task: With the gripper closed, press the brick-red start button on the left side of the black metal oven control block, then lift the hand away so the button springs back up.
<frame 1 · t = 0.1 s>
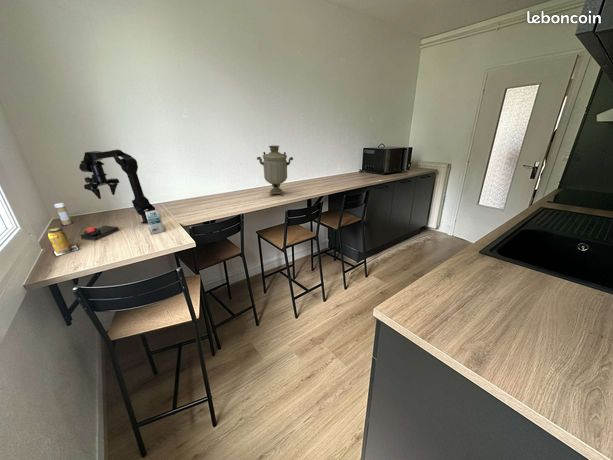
hand: (106, 196, 161), 15 cm above the worktop, tool pointing down, fingers open, 9 cm apart
start button: (91, 229, 138), point 5 cm above the worktop, slide at 0.1 cm
samovar: (278, 193, 221), on the worktop
condiment: (66, 251, 126), on the worktop
sprinkles bottle: (67, 224, 158), on the worktop
light bulb box: (157, 230, 149), on the worktop
oven controls: (100, 234, 143), on the worktop
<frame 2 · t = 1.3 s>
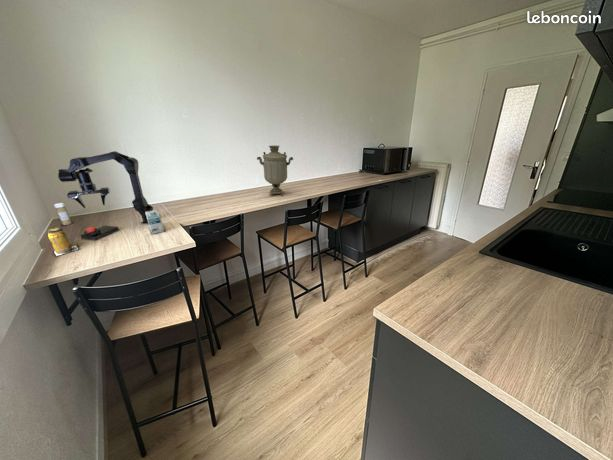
hand: (94, 206, 149), 13 cm above the worktop, tool pointing down, fingers open, 9 cm apart
nothing on the worktop moved.
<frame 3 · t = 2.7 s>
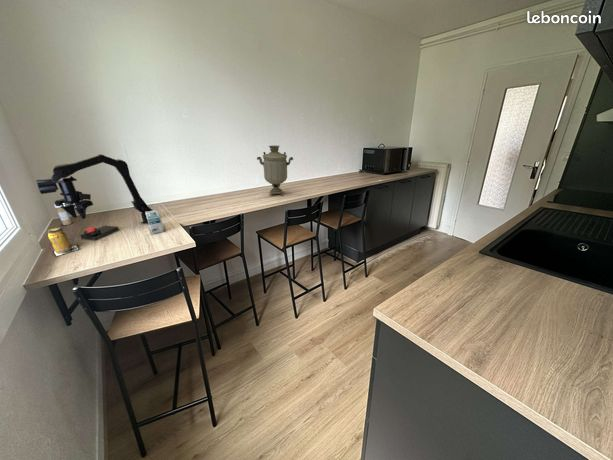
hand: (79, 218, 137), 11 cm above the worktop, tool pointing down, fingers open, 6 cm apart
nothing on the worktop moved.
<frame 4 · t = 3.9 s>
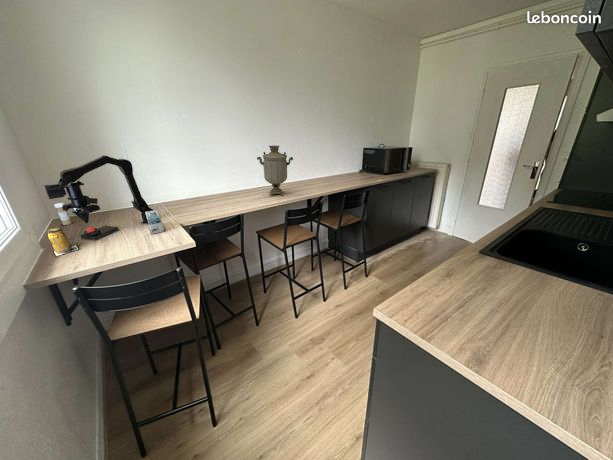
hand: (87, 222, 137), 9 cm above the worktop, tool pointing down, fingers closed
nothing on the worktop moved.
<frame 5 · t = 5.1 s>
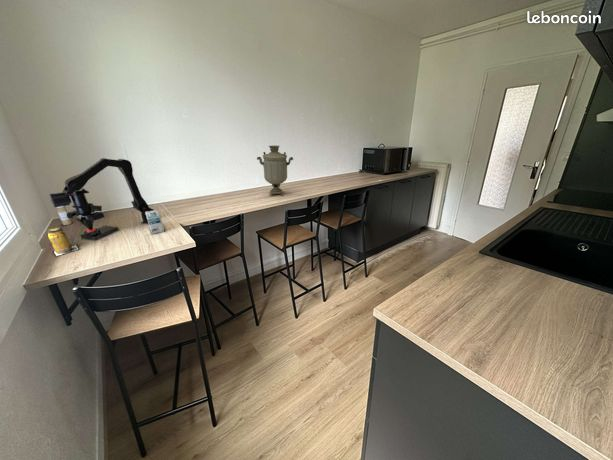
hand: (91, 229, 138), 5 cm above the worktop, tool pointing down, fingers closed, pressing on start button
start button: (91, 231, 138), point 4 cm above the worktop, slide at -0.9 cm, touching gripper
everything else where it was.
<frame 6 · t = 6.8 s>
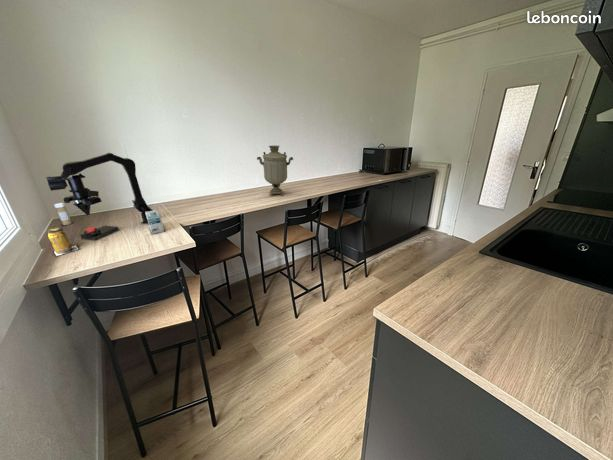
hand: (88, 214, 139), 12 cm above the worktop, tool pointing down, fingers closed
start button: (91, 229, 138), point 5 cm above the worktop, slide at 0.1 cm
everything else where it was.
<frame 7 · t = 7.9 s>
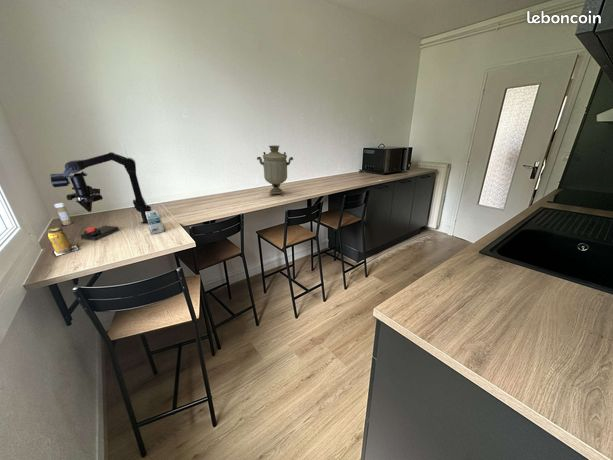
hand: (90, 211, 143), 12 cm above the worktop, tool pointing down, fingers closed
nothing on the worktop moved.
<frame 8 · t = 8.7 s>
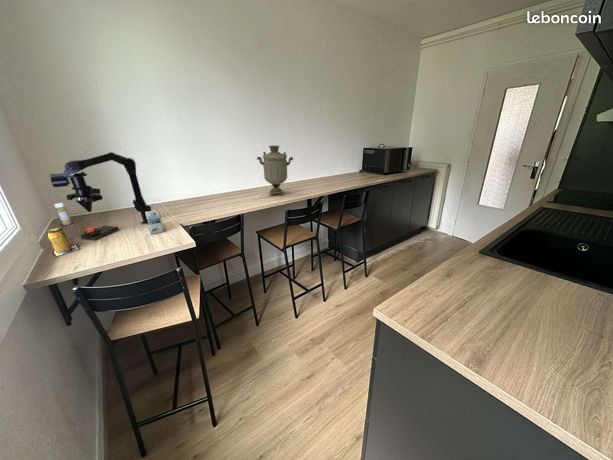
hand: (90, 211, 143), 12 cm above the worktop, tool pointing down, fingers closed
nothing on the worktop moved.
at the end: start button pushed in 1.1 cm at the most during the clip, back to where it started at the end; start button slide at 0.1 cm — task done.
